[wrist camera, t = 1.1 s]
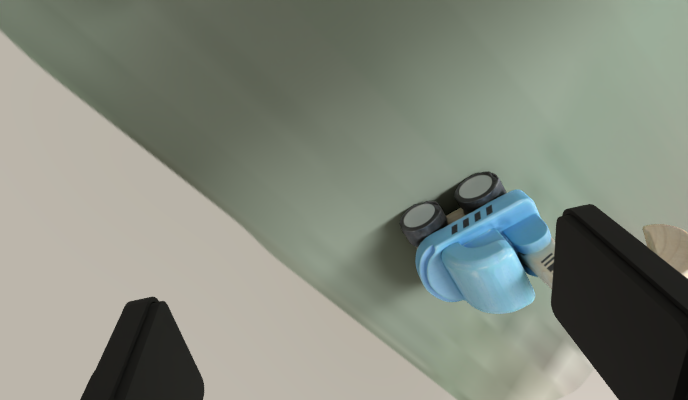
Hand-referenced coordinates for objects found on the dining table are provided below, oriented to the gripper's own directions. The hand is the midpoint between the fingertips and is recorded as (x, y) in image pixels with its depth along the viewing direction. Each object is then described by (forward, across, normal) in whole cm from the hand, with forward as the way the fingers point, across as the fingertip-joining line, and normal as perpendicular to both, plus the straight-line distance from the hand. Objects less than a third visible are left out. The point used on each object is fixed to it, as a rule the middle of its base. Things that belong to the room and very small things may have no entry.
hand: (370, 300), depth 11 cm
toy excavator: (+28, -14, +16) cm, 35 cm away
